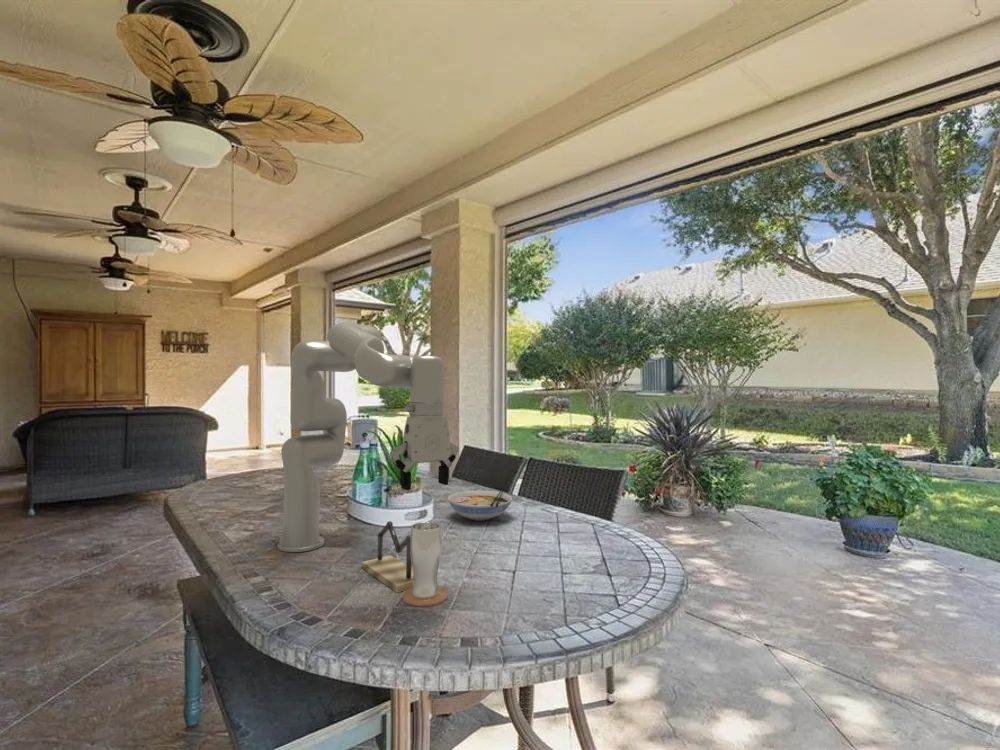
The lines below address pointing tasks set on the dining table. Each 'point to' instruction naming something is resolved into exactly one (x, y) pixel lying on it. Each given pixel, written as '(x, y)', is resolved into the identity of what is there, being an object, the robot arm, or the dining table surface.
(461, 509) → the ramen bowl
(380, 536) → the bent wire
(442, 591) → the terracotta coaster
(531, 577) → the dining table surface
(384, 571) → the wire board
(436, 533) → the beer glass
